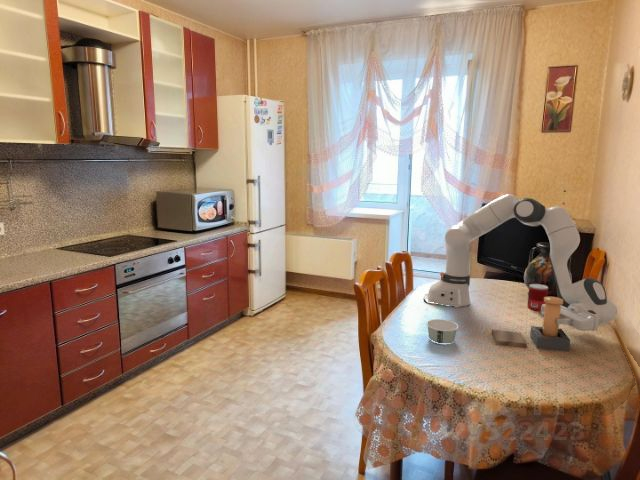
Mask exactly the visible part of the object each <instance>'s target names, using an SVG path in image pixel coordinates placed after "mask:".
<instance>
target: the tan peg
mask: <svg viewBox="0 0 640 480" xmlns="http://www.w3.org/2000/svg"><path fill="white" fill-rule="evenodd" d="M544 302H545V311H544V317H543V322H542V327H543V330H542V335H544V336H555V337H557V336H558V329H559V326H560V324H557V323H555V319H556V318H560V309H561V306H562V304H563V299H561V298H558V297H551V296H548V297H544Z"/></svg>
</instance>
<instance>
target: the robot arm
mask: <svg viewBox="0 0 640 480" xmlns="http://www.w3.org/2000/svg"><path fill="white" fill-rule="evenodd" d="M513 218H515V219H516V220H517V221H519V222H520V223H522V224H523V225H526V226H529V227H531V228H534V227H535V228H536V227H539V226H542V227H543V229H544V230H545V233H546V235H547V238H548V240H549V243H550V254H549V258H550V263H551V267H552V271H553V275H554V279H555V283H556V287H557V297H558V298H561V299H563V304H562V305H561V309H560V318H556V319H555V323H557V324H559V325H566V326H567V325H568V326H569V327H572V328H574V329H576V330H579V331H580V332H588V331H590V332H591V331H592V332H596V331H598V328H599V325H603V324H607V323H610V322H612V321H613V320H615V318H617V315H618V308H617V305H616V304H615V303H614V302H613V301H612V300H610V299H609V298H608V296H607V291H606V289H605V287H604V285H603V284H602V283H601V282H600V281H599V280H598V279H596V278H594V277H586V278H584V279H581V280H578V281H576V282H574V283H573V282H572V283H571V279H570V276H569V272H568V268H567V262H568V259H569V257H570V256H571V257H572V255H573V253H575V251H576V250H577V248H578V247H579V245H580V242H581V237H580V232H579V230H578V228H577V226H576V223H575V222H574V219H573V218H572V217H571V215H570V214H569V211H567V210H566V208H564V207H562V206H560V205H559V206H557V205H556V206H552V207H548V208H546V207H545V205H543V203H542V202H540V201H537V200H536V199H533V198H532V197H531V198H530V197H524V198H521V199H519V198H518V197H517V195H514V194H512V193H507V194H504V195H502V196H499V197H497V198H496V199H493V200H492V201H490V202H488V203H486V204H485V205H483V206H482V207H481V208H479V209H477V210H475V212H473V213H471V214H470V215H468V216H466V217H465V218H463V219H462V220H460V221H459V222H457V223H455V224H454V225H452V226H450V227H448V229H447V230H446V232H445V236H444V240H445V253H446V254H445V255H446V260H445V261H446V262H445V266H446V267H445V272H444V271H441V272H440V274H439V276H440V279H439V280H438V281H437V282H435V283H433V284H432V285H431V286H430V287H429V290H428V293H426V294H424V295H423V300H424V299H428V302H434V303H438V304H443V305H449V306H448V307H450V306H454V307H453V308H457V307H458V308H461V307H464V306H465V307H466V306H469V305H470V304H471V298H470V290H469V289H470V288H469V287H470V284H471V274H470V270H471V269H470V268H471V265H470V264H471V256H470V255H471V254H470V252H471V251H470V244H471V242H473V241H474V240H476V239H478V238H479V237H481V236H483V235H485V234H487V233H489V232H491V231H492V230H493V229H496V228H497V227H499V226H500V225H502V224H503V223H505V222H507V221H508V220H511V219H513ZM443 305H442V306H443ZM460 306H461V307H460ZM544 311H545V304H543V305H542V306H541V311H540V313H541V317H543V318H544Z"/></svg>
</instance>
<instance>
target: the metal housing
mask: <svg viewBox="0 0 640 480" xmlns="http://www.w3.org/2000/svg"><path fill="white" fill-rule="evenodd" d="M542 330H543V326H530V332H529V333H530V334H529V338H530V339H531V341H532V344H533V345H534V346H535V348H536V349H540V350H549V351H559V352H560V351H561V352H570V346H571V339H570V338H569V336H568V335H567V334H566V333H565V331H564V330H563V329H562V328H558V336H557V337H555V336H544V335H542Z"/></svg>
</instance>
